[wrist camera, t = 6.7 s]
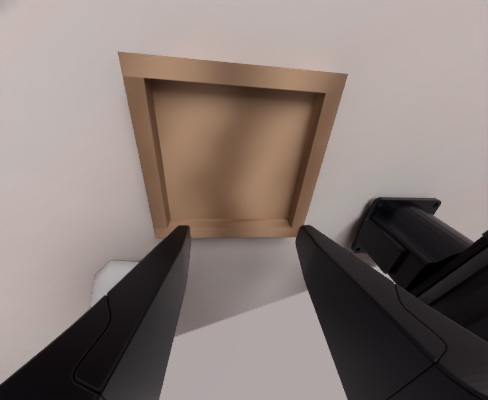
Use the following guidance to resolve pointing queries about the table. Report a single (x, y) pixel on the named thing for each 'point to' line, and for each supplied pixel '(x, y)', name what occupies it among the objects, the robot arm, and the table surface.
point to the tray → (229, 142)
